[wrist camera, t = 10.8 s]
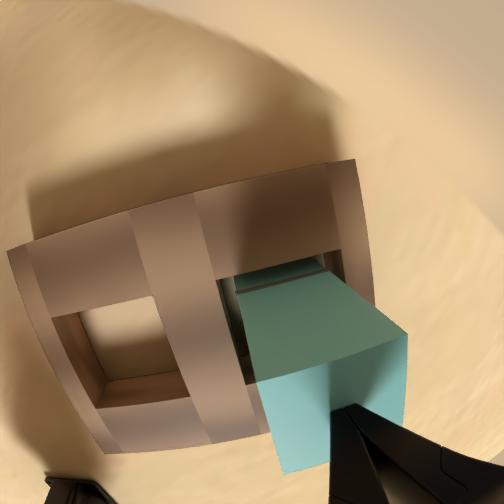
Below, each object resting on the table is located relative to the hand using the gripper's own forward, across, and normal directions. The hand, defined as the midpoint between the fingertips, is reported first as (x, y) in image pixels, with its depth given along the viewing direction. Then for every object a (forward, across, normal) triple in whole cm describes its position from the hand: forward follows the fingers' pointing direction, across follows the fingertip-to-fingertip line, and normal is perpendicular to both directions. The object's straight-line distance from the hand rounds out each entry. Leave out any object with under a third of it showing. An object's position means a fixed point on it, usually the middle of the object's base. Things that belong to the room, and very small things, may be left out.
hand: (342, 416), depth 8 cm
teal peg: (+10, 0, 0) cm, 10 cm away
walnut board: (+10, +4, 0) cm, 11 cm away
